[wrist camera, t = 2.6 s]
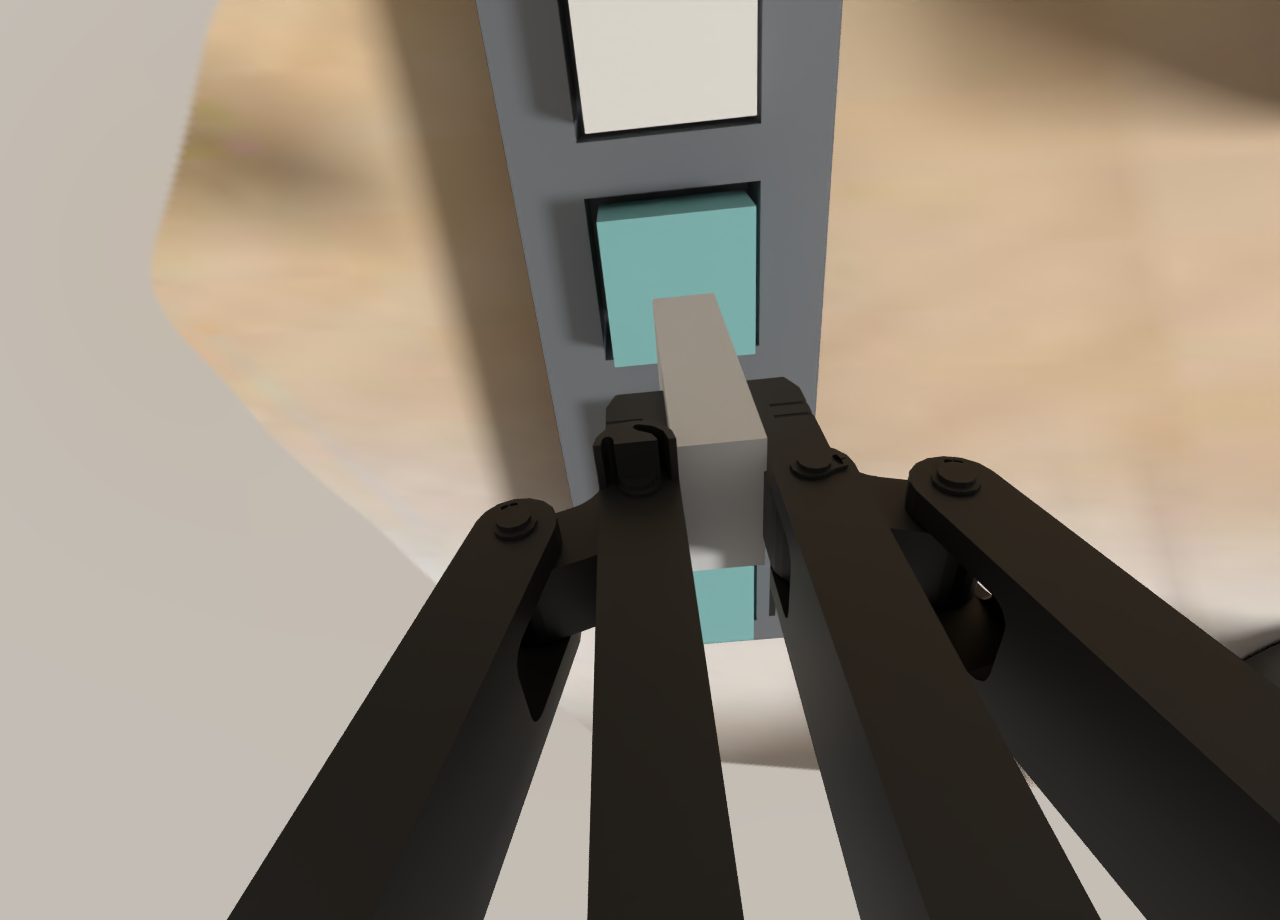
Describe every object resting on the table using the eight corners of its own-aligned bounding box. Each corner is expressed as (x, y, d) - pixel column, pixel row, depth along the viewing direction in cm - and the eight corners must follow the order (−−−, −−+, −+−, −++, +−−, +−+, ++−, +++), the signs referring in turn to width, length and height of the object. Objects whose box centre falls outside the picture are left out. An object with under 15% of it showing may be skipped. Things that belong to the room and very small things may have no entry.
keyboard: (785, 585, 35) (800, 636, 32) (602, 600, 35) (600, 652, 32) (819, -175, 18) (856, -215, 15) (471, -132, 19) (443, -163, 16)
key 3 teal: (744, 327, 24) (755, 353, 22) (615, 339, 24) (614, 367, 22) (743, 189, 21) (756, 205, 19) (598, 204, 21) (596, 222, 19)
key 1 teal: (745, 601, 32) (753, 639, 30) (648, 609, 32) (650, 648, 30) (745, 526, 29) (754, 563, 27) (639, 535, 29) (640, 572, 27)
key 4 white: (743, 106, 20) (756, 114, 18) (588, 123, 20) (584, 133, 18) (742, -97, 17) (758, -114, 15) (564, -75, 17) (556, -90, 15)
